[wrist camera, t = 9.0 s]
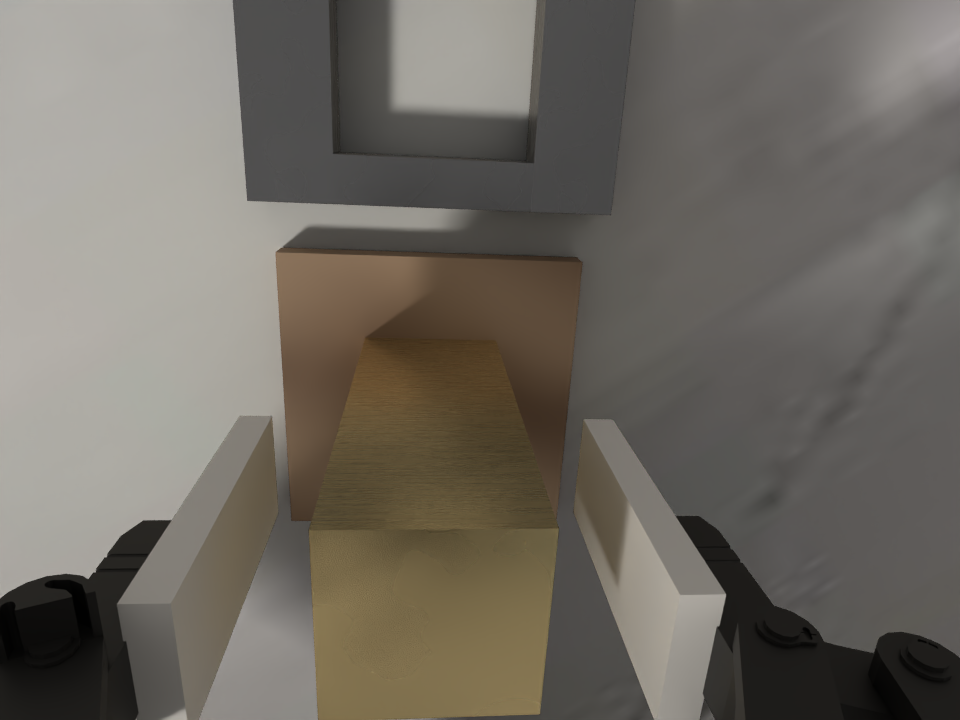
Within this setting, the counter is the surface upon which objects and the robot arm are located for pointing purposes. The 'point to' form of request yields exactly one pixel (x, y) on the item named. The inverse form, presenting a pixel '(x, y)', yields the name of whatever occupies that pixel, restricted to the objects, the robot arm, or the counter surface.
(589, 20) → the grey flat slotted block
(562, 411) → the walnut pad
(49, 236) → the counter surface
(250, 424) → the robot arm
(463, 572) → the square wooden peg
